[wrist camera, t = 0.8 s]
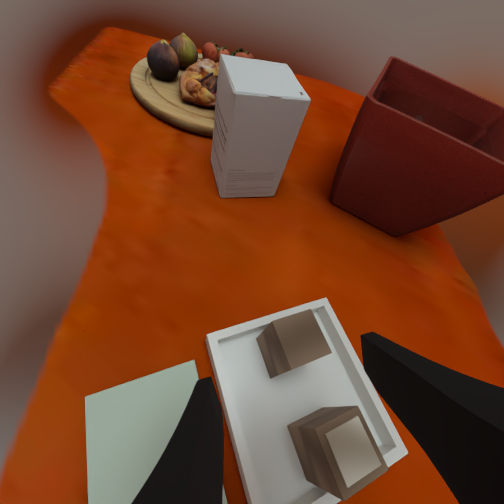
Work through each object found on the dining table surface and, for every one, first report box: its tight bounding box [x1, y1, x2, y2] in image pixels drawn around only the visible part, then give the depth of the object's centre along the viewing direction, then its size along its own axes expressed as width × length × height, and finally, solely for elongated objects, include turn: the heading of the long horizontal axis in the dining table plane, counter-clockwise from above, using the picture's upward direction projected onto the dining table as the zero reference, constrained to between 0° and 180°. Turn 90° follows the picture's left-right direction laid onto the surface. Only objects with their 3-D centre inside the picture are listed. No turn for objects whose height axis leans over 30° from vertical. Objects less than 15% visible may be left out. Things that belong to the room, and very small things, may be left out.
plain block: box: [256, 309, 332, 379], centre depth 23 cm, size 4×4×6 cm
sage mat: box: [85, 360, 228, 504], centre depth 19 cm, size 12×9×1 cm
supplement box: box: [211, 54, 311, 198], centre depth 34 cm, size 9×9×15 cm
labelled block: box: [287, 406, 389, 501], centre depth 20 cm, size 4×4×6 cm
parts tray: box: [205, 298, 408, 504], centre depth 23 cm, size 15×14×2 cm
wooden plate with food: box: [130, 33, 254, 137], centre depth 49 cm, size 32×32×8 cm
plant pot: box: [330, 56, 504, 236], centre depth 37 cm, size 19×19×17 cm
